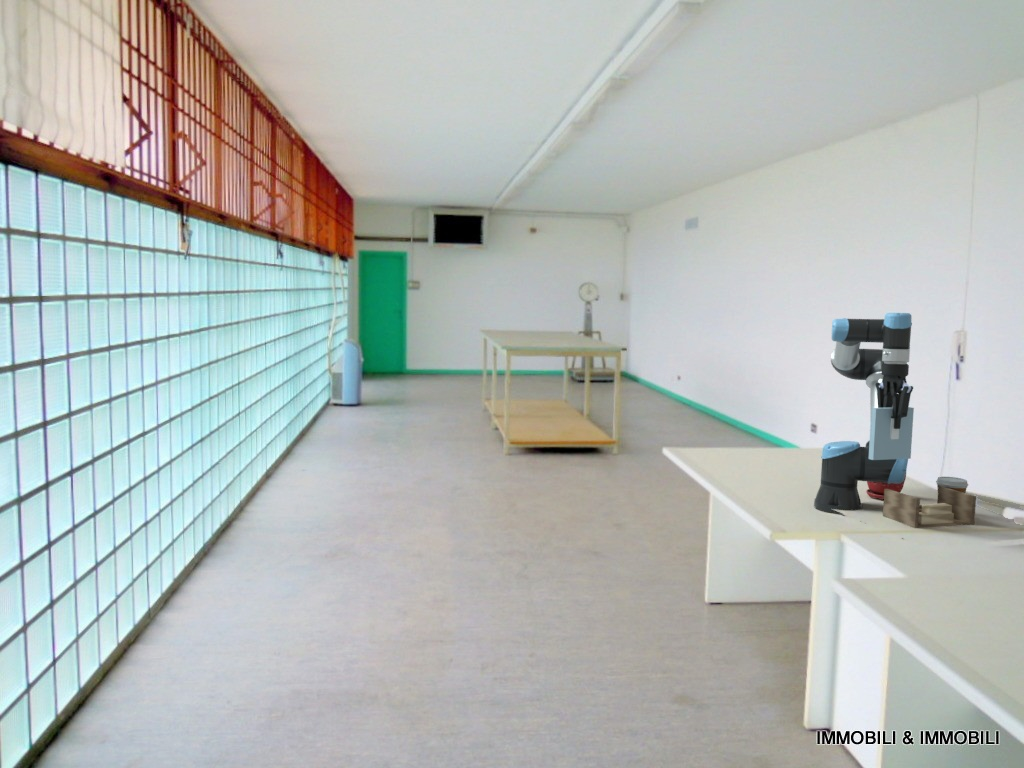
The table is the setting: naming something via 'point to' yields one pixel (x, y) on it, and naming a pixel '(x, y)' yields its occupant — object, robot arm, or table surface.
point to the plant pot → (882, 488)
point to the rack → (909, 507)
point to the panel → (880, 435)
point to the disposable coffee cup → (952, 483)
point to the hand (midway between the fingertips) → (890, 438)
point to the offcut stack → (936, 514)
